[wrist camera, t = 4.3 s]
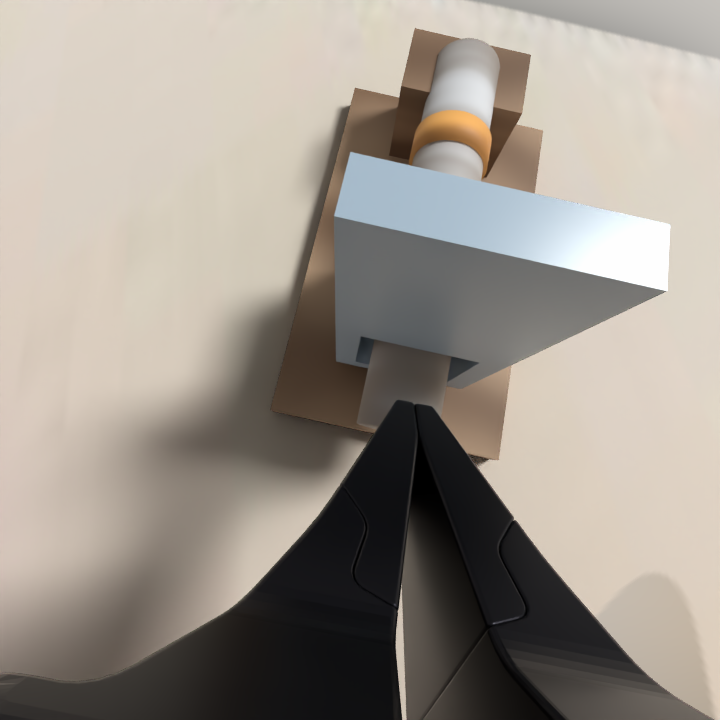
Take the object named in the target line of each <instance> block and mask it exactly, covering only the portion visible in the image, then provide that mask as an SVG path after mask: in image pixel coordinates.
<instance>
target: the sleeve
mask: <svg viewBox="0 0 720 720" xmlns="http://www.w3.org/2000/svg"><path fill="white" fill-rule="evenodd" d="M669 241H670V224H667V223H662V222H658V221H653V220H649V219H645V218H640V217H636V216H631V215H627V214H622V213H618V212H614V211H609V210H605V209H600V208H596V207H592V206H587V205H583V204H578V203H574V202H569V201H565V200H561V199H556V198H552V197H547V196H543V195H539V194H534V193H530V192H525V191H521V190H517V189H512V188H508V187H503V186H499V185H494V184H490V183H486V182H481V181H477V180H472V179H468V178H464V177H459V176H455V175H450V174H446V173H441V172H437V171H433V170H428V169H424V168H419V167H415V166H411V165H406V164H402V163H397V162H393V161H388V160H384V159H380V158H375V157H371V156H366V155H362V154H358V153H353V152H350V156H349V160H348V163H347V167H346V171H345V175H344V179H343V183H342V187H341V191H340V195H339V199H338V203H337V206H336V210H335V214H334V250H335V326H336V362H341V363H345V364H350V365H354V366H359V367H363V368H368V367H369V362H370V358H371V353H372V348H373V344H374V339H375V340H380V341H384V342H389V343H393V344H398V345H402V346H407V347H411V348H416V349H420V350H425V351H429V352H434V353H438V354H443V355H447V356H451V361H450V367H449V373H448V379H447V385H446V386H449V387H453V388H458V389H462V388H464V387H466V386H469V385H471V384H473V383H475V382H477V381H479V380H481V379H483V378H485V377H487V376H490V375H492V374H494V373H496V372H498V371H500V370H502V369H504V368H506V367H508V366H511V365H513V364H515V363H517V362H519V361H521V360H523V359H525V358H527V357H529V356H532V355H534V354H536V353H538V352H540V351H542V350H544V349H546V348H548V347H551V346H553V345H555V344H557V343H559V342H561V341H563V340H565V339H567V338H569V337H572V336H574V335H576V334H578V333H580V332H582V331H584V330H586V329H588V328H590V327H593V326H595V325H597V324H599V323H601V322H603V321H605V320H607V319H609V318H611V317H614V316H616V315H618V314H620V313H622V312H624V311H626V310H628V309H630V308H632V307H635V306H637V305H639V304H641V303H643V302H645V301H647V300H649V299H651V298H653V297H656V296H658V295H660V294H662V293H664V292H666V291H667V281H668V261H669Z"/></svg>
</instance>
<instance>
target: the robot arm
mask: <svg viewBox="0 0 720 720" xmlns="http://www.w3.org/2000/svg"><path fill="white" fill-rule="evenodd" d="M513 520H514V517H513V515H512V514H511V513H510V511H509V510H508V509H507V507H506V506H505V505H504V503H503V502H502V500H501V499H500V498H499V496H498V495H497V494H496V492H495V491H494V490H493V488H492V487H491V485H490V484H489V483H488V481H487V480H486V479H485V477H484V476H483V474H482V473H481V472H480V470H479V469H478V468H477V466H476V465H475V464H474V462H473V461H472V459H471V458H470V457H469V455H468V454H467V453H466V451H465V450H464V449H463V447H462V446H461V444H460V443H459V442H458V440H457V439H456V438H455V436H454V435H453V434H452V432H451V431H450V429H449V428H448V427H447V425H446V424H445V423H444V421H443V420H442V418H441V417H440V416H439V414H438V413H437V412H436V410H435V409H434V408H433V407H432V406H429V405H424V404H419V403H416V404H415V405H414V403H412V402H409V401H404V400H396V401H395V402H394V404H393V405H392V407H391V408H390V410H389V411H388V413H387V415H386V416H385V418H384V419H383V421H382V422H381V424H380V425H379V427H378V428H377V430H376V431H375V433H374V434H373V436H372V437H371V439H370V440H369V442H368V443H367V445H366V446H365V448H364V449H363V451H362V452H361V454H360V455H359V457H358V458H357V460H356V461H355V463H354V464H353V466H352V467H351V469H350V470H349V472H348V473H347V475H346V477H345V478H344V480H343V481H342V483H341V484H340V486H339V487H338V488H337V490H336V491H335V493H334V494H333V496H332V497H331V499H330V500H329V501H328V503H327V504H326V506H325V507H324V508H323V510H322V511H321V513H320V514H319V515H318V517H317V518H316V519H315V520H314V521H313V523H312V524H311V525H310V526H309V527H308V528H307V530H306V531H305V532H304V533H303V534H302V535H301V537H300V538H299V539H298V540H297V541H296V542H295V543H294V544H293V545H292V546H291V547H290V549H289V550H288V551H287V552H286V553H285V554H284V555H283V556H282V557H281V558H280V559H279V561H278V562H277V563H276V564H275V565H274V566H273V567H272V568H271V569H270V570H269V572H268V573H267V574H266V575H265V576H264V577H263V578H262V579H261V580H260V581H259V582H258V583H257V584H256V586H255V587H254V588H253V589H252V590H251V591H250V592H249V593H248V594H247V595H245V596H244V597H243V598H242V599H241V600H240V601H239V602H238V603H237V604H235V605H234V606H233V607H232V608H230V609H229V610H228V611H226V612H224V613H223V614H221V615H220V616H218V617H216V618H214V619H213V620H211V621H209V622H207V623H206V624H204V625H202V626H200V627H199V628H197V629H195V630H193V631H192V632H190V633H188V634H187V635H185V636H183V637H181V638H180V639H178V640H176V641H174V642H173V643H171V644H169V645H167V646H166V647H164V648H162V649H160V650H159V651H157V652H155V653H153V654H152V655H150V656H148V657H146V658H145V659H143V660H141V661H140V662H138V663H136V664H134V665H133V666H131V667H128V668H126V669H124V670H122V671H120V672H118V673H116V674H112V675H109V676H106V677H102V678H99V679H94V680H86V681H78V682H75V681H59V680H54V679H49V678H44V677H38V676H33V675H26V674H19V673H0V720H402V713H401V702H400V692H399V681H398V670H397V660H396V646H395V644H396V626H397V616H398V612H397V611H398V608H399V600H400V591H401V583H402V604H403V632H404V660H405V688H406V716H407V720H714V719H712V718H710V717H709V716H707V715H705V714H704V713H702V712H700V711H699V710H697V709H695V708H693V707H692V706H690V705H688V704H686V703H685V702H683V701H682V700H680V699H678V698H677V697H675V696H674V695H672V694H671V693H670V692H668V691H667V690H665V689H664V688H663V687H661V686H660V685H659V684H658V683H656V682H655V681H654V680H653V679H652V678H650V677H649V676H648V675H647V674H646V673H645V672H644V671H643V670H642V669H641V668H640V667H639V666H638V665H637V664H636V663H635V662H634V661H633V660H632V659H631V658H630V657H629V656H628V655H627V653H626V652H625V651H624V650H623V649H622V648H621V647H620V646H619V644H618V643H617V642H616V641H615V640H614V639H613V637H612V636H611V635H610V634H609V633H608V632H607V631H606V629H605V628H604V627H603V626H602V625H601V624H600V623H599V621H598V620H597V619H596V618H595V617H594V615H593V614H592V613H591V612H590V611H589V610H588V609H587V607H586V606H585V605H584V604H583V603H582V602H581V601H580V599H579V598H578V597H577V596H576V595H575V594H574V592H573V591H572V590H571V589H570V588H569V587H568V585H567V584H566V583H565V582H564V581H563V580H562V578H561V577H560V576H559V575H558V574H557V572H556V571H555V570H554V569H553V568H552V566H551V565H550V564H549V563H548V562H547V560H546V559H545V558H544V557H543V555H542V554H541V553H540V551H539V550H538V549H537V547H536V546H535V545H534V544H533V542H532V541H531V540H530V538H529V537H528V536H527V534H526V533H525V532H524V530H523V529H522V528H521V526H520V525H519V523H518V522H517V521H516V520H514V521H513Z"/></svg>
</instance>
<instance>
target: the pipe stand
mask: <svg viewBox="0 0 720 720" xmlns="http://www.w3.org/2000/svg"><path fill="white" fill-rule="evenodd" d="M530 57H531V55H529V54H525V53H520V52H516V51H512V50H507V49H503V48H499V47H494V46H490V45H488V44H487V43H485V42H483V41H481V40H478V39H472V38H465V39H459V38H455V37H451V36H446V35H442V34H438V33H433V32H429V31H425V30H420V29H416V28H415V30H414V34H413V38H412V43H411V47H410V51H409V56H408V60H407V64H406V68H405V73H404V77H403V81H402V86H401V91H400V97H399V98H398V97H393V96H389V95H384V94H380V93H376V92H371V91H367V90H363V89H358V88H355V90H354V94H353V98H352V102H351V105H350V109H349V113H348V117H347V121H346V124H345V128H344V132H343V136H342V139H341V143H340V147H339V151H338V155H337V158H336V162H335V166H334V170H333V174H332V177H331V181H330V185H329V189H328V193H327V196H326V200H325V204H324V208H323V212H322V215H321V219H320V223H319V227H318V230H317V234H316V238H315V242H314V246H313V249H312V253H311V257H310V261H309V265H308V268H307V272H306V276H305V280H304V284H303V287H302V291H301V295H300V299H299V303H298V306H297V310H296V314H295V318H294V321H293V325H292V329H291V333H290V337H289V340H288V344H287V348H286V352H285V356H284V359H283V363H282V367H281V371H280V375H279V378H278V382H277V386H276V390H275V394H274V397H273V401H272V405H271V409H270V410H272V411H274V412H278V413H283V414H287V415H292V416H296V417H301V418H305V419H310V420H314V421H319V422H323V423H328V424H332V425H337V426H342V427H346V428H351V429H355V430H360V431H364V432H369V433H373V434H374V433H375V431H376V430H377V428H378V427H379V425H380V424H381V422H382V421H383V419H384V418H385V416H386V415H387V413H388V411H389V410H390V408H391V407H392V405H393V404H394V402H395V401H396V400H404V401H409V402H412V403H414V405H415V404H416V403H419V404H424V405H429V406H432V407H433V408H434V409H435V410H436V412H437V413H438V414H439V416H440V417H441V418H442V420H443V421H444V423H445V424H446V425H447V427H448V428H449V429H450V431H451V432H452V434H453V435H454V436H455V438H456V439H457V440H458V442H459V443H460V444H461V446H462V447H463V449H464V450H465V451H466V453H467V454H468V455H473V456H477V457H482V458H486V459H493V460H499V453H500V445H501V438H502V430H503V423H504V416H505V408H506V401H507V393H508V386H509V379H510V371H511V366H508V367H506V368H504V369H502V370H500V371H498V372H496V373H494V374H492V375H490V376H487V377H485V378H483V379H481V380H479V381H477V382H475V383H473V384H471V385H469V386H466V387H464V388H462V389H458V388H453V387H449V386H446V385H447V379H448V373H449V367H450V361H451V356H447V355H443V354H438V353H434V352H429V351H425V350H420V349H416V348H411V347H407V346H402V345H398V344H393V343H389V342H384V341H380V340H375V339H374V344H373V348H372V353H371V358H370V362H369V367H368V368H363V367H359V366H354V365H350V364H345V363H341V362H336V326H335V250H334V214H335V210H336V206H337V203H338V199H339V195H340V191H341V187H342V183H343V179H344V175H345V171H346V167H347V163H348V160H349V156H350V152H353V153H358V154H362V155H366V156H371V157H375V158H380V159H384V160H388V161H393V162H397V163H402V164H406V165H411V166H415V167H419V168H424V169H428V170H433V171H437V172H441V173H446V174H450V175H455V176H459V177H464V178H468V179H472V180H477V181H481V182H486V183H490V184H494V185H499V186H503V187H508V188H512V189H517V190H521V191H525V192H530V193H534V194H535V186H536V179H537V171H538V164H539V157H540V149H541V142H542V134H543V131H542V130H538V129H534V128H529V127H525V126H521V125H516V123H517V122H518V120H519V118H520V116H521V114H522V110H523V104H524V97H525V90H526V84H527V77H528V70H529V64H530Z"/></svg>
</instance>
